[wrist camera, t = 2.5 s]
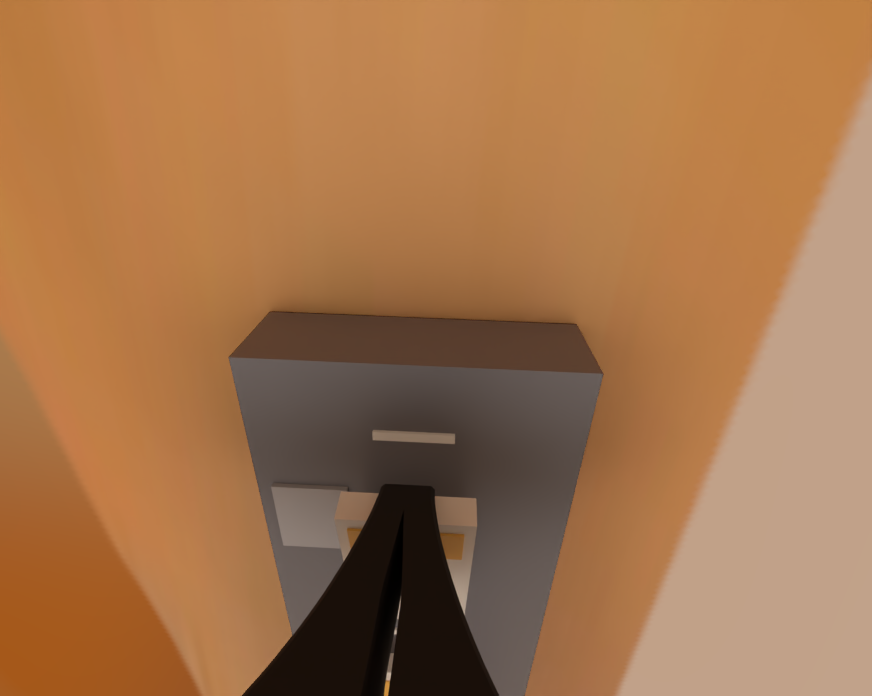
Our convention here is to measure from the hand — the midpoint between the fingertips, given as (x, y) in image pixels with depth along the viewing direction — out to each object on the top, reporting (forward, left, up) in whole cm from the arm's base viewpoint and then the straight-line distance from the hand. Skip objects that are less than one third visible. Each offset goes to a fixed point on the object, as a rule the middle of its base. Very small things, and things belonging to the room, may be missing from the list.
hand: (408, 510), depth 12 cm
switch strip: (-7, 0, -5) cm, 9 cm away
